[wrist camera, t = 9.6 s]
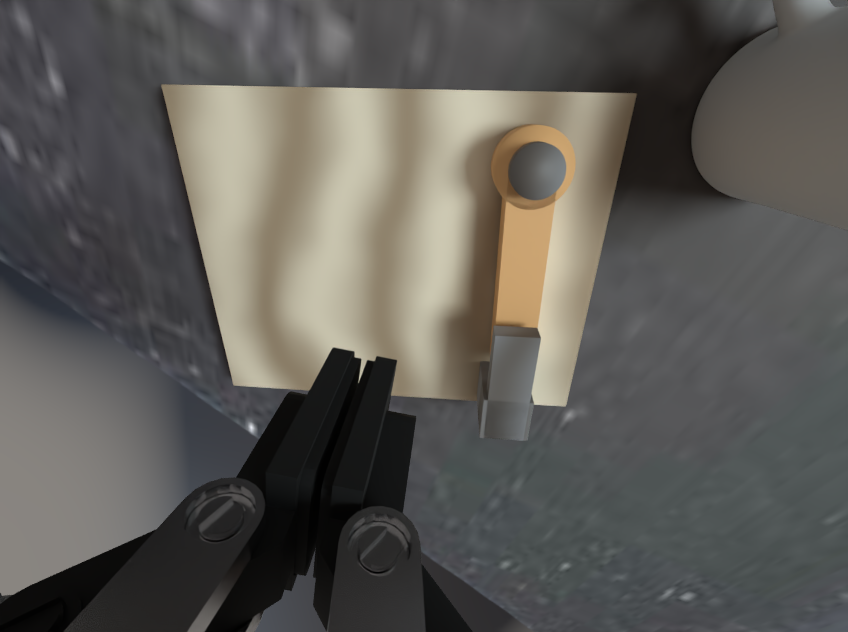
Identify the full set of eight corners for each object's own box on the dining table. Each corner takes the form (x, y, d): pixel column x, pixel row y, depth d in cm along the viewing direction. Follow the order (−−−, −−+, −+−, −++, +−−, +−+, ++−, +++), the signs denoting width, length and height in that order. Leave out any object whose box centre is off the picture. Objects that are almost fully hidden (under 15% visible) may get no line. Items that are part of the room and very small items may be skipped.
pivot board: (625, 94, 22) (678, 88, 16) (561, 393, 31) (581, 450, 25) (178, 86, 23) (97, 78, 18) (243, 374, 32) (201, 424, 27)
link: (493, 124, 21) (496, 125, 19) (571, 123, 21) (582, 124, 19) (478, 351, 27) (479, 368, 26) (538, 353, 27) (543, 370, 25)
